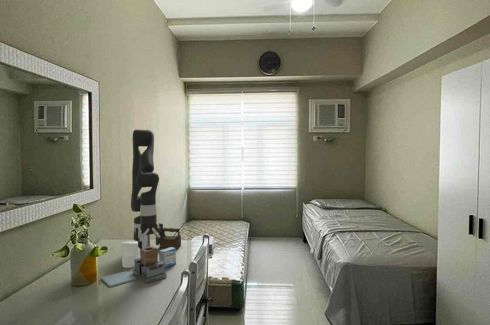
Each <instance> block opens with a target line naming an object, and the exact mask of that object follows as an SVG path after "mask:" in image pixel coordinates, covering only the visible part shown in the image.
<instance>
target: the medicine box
mask: <svg viewBox="0 0 490 325" xmlns="http://www.w3.org/2000/svg"><path fill="white" fill-rule="evenodd" d="M161 261H162V262H164V263H165V269H167V268H169V267H172V266H174V265H177V250H176V248H173V247H169V248H166V249H161V250H159V251H158V262H161Z"/></svg>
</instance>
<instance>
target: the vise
mask: <svg viewBox="0 0 490 325" xmlns="http://www.w3.org/2000/svg"><path fill="white" fill-rule="evenodd" d="M165 271H166V268H165V263H164V262H162V261H161V262H159V261H158V262H157V263H153V264H149V265H143V264H142V263H141V257H140V258H138V259H134V267H133V269H132V273H133V274H134V275H135V277H136V276H137V277H138V278H139V279H140V280H141V281H143V282H144V283H146V284H149V283H153V282H156V281H160V280H163V279H166V278H168V277H167V276H168V275H167V274H168V273H167V272H165Z"/></svg>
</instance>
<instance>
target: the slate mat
mask: <svg viewBox="0 0 490 325" xmlns="http://www.w3.org/2000/svg"><path fill="white" fill-rule="evenodd" d="M100 279H101V280H102V281H103V282H104V283H105V284H106V285H107V286H108V287H109V288H113V287H115V286H116V287H117V286H119V285H122V284H126V283H130V282H133V281H137V278H136V276H134V275H133V274H131V272H129V271H127V270H124V271H121V272H117V273H113V274H109V275H105V276H102V277H101V278H100Z"/></svg>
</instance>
